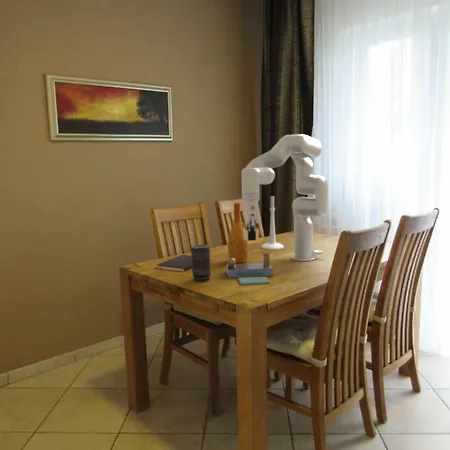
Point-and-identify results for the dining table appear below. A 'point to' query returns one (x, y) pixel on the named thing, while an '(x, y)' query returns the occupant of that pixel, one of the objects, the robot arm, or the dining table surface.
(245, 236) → the lever cap
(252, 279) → the rubber mat
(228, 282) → the dining table surface
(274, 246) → the candlestick
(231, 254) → the wine bottle
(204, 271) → the camera lens
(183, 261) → the hardcover book
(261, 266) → the hand plane
